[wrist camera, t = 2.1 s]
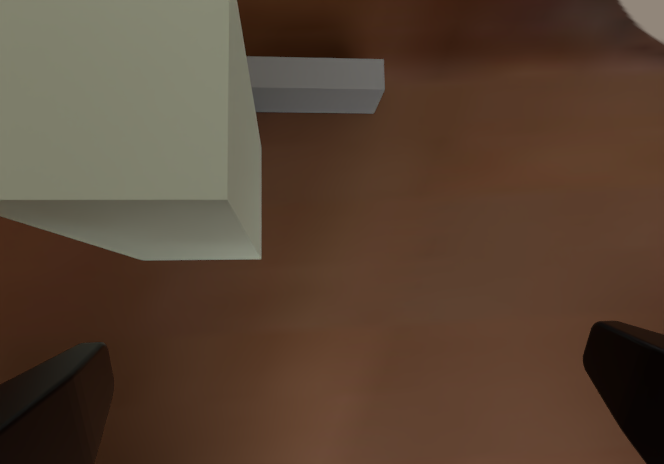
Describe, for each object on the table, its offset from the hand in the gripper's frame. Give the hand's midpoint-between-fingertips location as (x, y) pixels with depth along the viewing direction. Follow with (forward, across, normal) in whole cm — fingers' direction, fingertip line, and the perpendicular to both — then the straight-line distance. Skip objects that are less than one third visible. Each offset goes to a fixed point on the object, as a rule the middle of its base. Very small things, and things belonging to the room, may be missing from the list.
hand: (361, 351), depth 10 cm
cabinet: (+12, -4, -2) cm, 13 cm away
